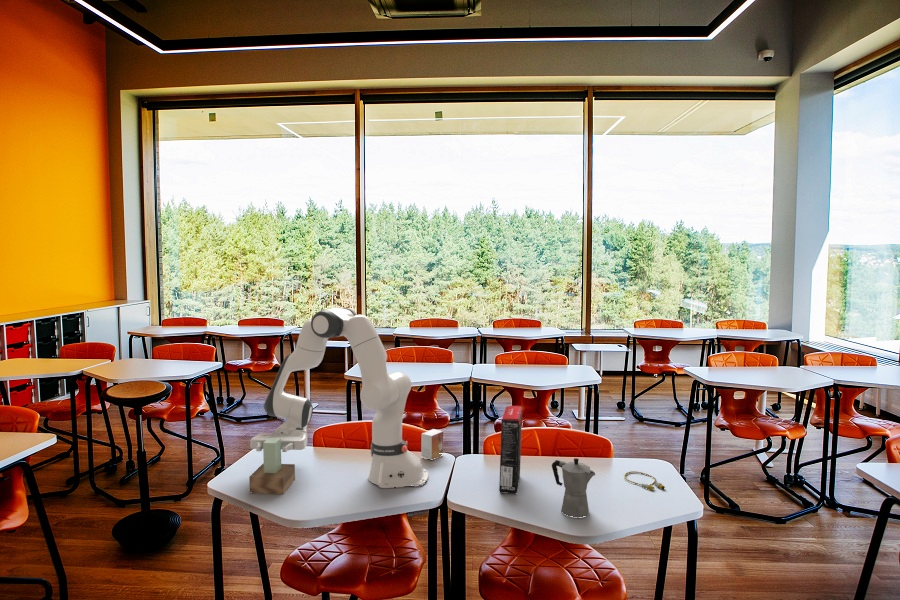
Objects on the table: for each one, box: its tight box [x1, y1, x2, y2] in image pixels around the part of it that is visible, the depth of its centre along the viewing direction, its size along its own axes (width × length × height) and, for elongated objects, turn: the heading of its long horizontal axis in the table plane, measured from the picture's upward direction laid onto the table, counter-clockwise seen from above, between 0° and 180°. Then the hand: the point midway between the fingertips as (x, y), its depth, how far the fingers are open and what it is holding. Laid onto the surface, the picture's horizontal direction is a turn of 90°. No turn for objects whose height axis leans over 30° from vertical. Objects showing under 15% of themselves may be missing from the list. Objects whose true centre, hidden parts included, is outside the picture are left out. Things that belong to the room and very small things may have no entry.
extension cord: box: [624, 470, 666, 491], centre depth 200 cm, size 12×16×2 cm
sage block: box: [262, 438, 282, 473], centre depth 194 cm, size 4×5×11 cm
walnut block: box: [248, 462, 296, 495], centre depth 194 cm, size 12×12×6 cm
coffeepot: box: [551, 458, 596, 517], centre depth 176 cm, size 15×9×18 cm, turn 50°
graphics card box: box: [498, 405, 523, 494], centre depth 196 cm, size 17×7×27 cm, turn 169°
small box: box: [420, 428, 444, 460], centre depth 223 cm, size 8×6×10 cm
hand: (271, 449), depth 193 cm, fingers open, 8 cm apart
